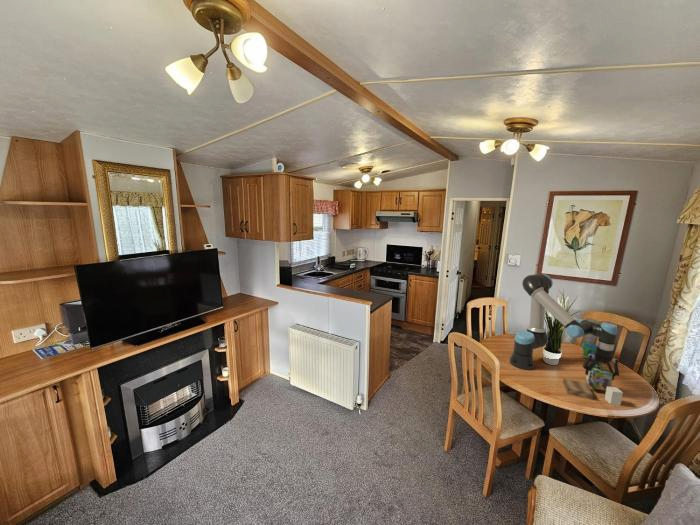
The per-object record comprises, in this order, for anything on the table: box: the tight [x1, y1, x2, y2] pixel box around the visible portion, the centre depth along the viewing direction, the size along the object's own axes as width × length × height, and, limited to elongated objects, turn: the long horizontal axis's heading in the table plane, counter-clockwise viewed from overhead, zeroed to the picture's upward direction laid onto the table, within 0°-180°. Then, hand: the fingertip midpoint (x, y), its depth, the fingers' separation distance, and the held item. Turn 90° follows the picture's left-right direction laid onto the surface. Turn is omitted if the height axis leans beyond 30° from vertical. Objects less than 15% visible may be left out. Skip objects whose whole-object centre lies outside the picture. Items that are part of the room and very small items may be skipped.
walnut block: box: [562, 378, 594, 401], centre depth 176 cm, size 12×12×4 cm
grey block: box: [604, 386, 624, 406], centre depth 166 cm, size 5×5×8 cm
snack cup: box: [581, 342, 598, 362], centre depth 217 cm, size 16×10×10 cm
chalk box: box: [585, 363, 613, 392], centre depth 177 cm, size 9×9×15 cm
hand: (597, 381), depth 178 cm, fingers closed on chalk box, 10 cm apart
